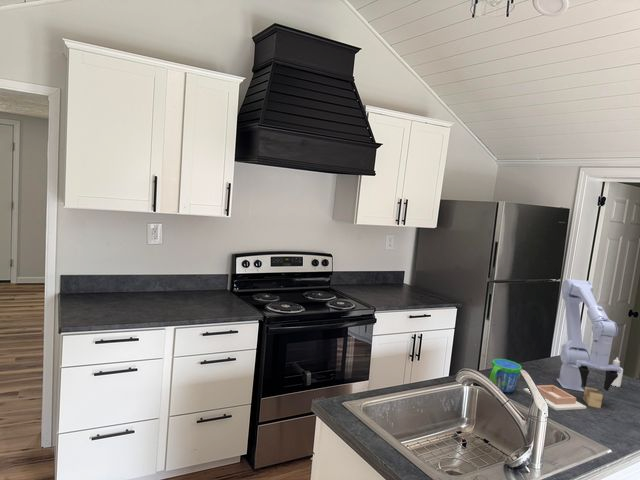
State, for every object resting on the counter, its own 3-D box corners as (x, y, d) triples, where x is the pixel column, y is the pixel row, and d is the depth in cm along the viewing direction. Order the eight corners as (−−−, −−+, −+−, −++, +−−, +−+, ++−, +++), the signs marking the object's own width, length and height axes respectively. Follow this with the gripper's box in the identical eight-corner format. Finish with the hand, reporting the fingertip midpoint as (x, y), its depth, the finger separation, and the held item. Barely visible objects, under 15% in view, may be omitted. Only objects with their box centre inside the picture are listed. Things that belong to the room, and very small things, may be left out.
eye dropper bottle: (616, 388, 191) (621, 360, 190) (602, 382, 196) (607, 355, 195) (622, 387, 193) (627, 359, 192) (609, 381, 198) (613, 355, 197)
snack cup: (498, 397, 169) (503, 370, 168) (477, 384, 178) (481, 359, 177) (528, 393, 175) (532, 367, 174) (506, 381, 185) (510, 357, 184)
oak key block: (583, 399, 175) (585, 387, 175) (594, 401, 175) (596, 389, 174) (588, 406, 170) (590, 393, 169) (600, 408, 169) (602, 395, 168)
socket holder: (523, 390, 177) (524, 383, 177) (552, 389, 182) (553, 382, 181) (555, 410, 162) (557, 402, 162) (586, 408, 167) (587, 400, 166)
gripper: (583, 352, 168) (577, 388, 169) (627, 359, 165) (620, 395, 166) (576, 346, 174) (571, 381, 176) (618, 353, 171) (612, 388, 173)
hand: (594, 387), depth 171 cm, fingers open, 7 cm apart
